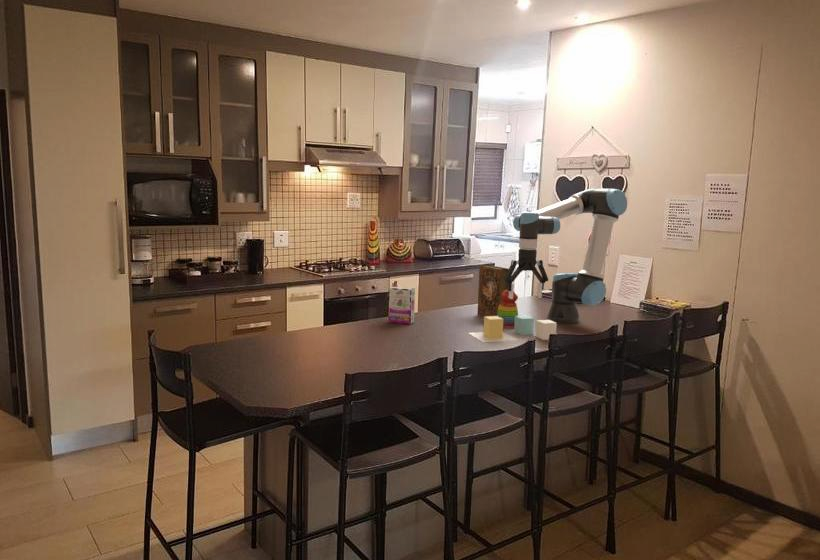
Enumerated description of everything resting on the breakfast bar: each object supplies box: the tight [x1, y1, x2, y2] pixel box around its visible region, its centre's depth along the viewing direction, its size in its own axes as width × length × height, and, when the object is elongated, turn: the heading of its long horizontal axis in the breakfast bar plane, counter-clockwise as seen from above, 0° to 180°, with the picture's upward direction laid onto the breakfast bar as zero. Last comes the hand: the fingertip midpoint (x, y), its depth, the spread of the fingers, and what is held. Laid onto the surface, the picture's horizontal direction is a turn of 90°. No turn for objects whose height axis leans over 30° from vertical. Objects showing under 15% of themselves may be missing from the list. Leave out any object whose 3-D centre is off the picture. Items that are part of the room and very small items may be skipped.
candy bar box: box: [388, 286, 416, 325], centre depth 280 cm, size 11×5×16 cm, turn 68°
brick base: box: [483, 316, 504, 339], centre depth 254 cm, size 6×6×8 cm
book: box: [476, 264, 509, 318], centre depth 294 cm, size 16×6×25 cm, turn 34°
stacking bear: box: [497, 290, 519, 330], centre depth 273 cm, size 11×10×18 cm
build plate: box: [468, 331, 519, 343], centre depth 255 cm, size 16×16×1 cm
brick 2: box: [535, 319, 558, 341], centre depth 254 cm, size 6×6×8 cm
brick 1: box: [513, 314, 535, 336], centre depth 262 cm, size 6×6×8 cm
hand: (525, 298), depth 260 cm, fingers open, 13 cm apart
